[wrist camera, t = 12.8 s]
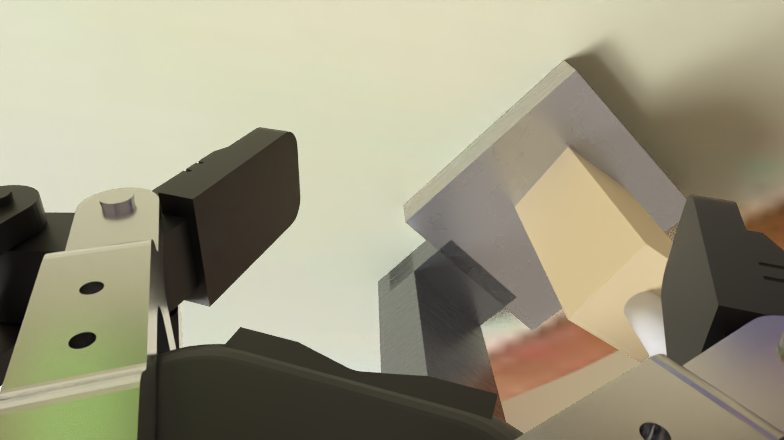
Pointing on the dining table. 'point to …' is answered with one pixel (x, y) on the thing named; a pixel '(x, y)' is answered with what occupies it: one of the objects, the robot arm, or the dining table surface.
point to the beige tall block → (599, 254)
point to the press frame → (500, 231)
